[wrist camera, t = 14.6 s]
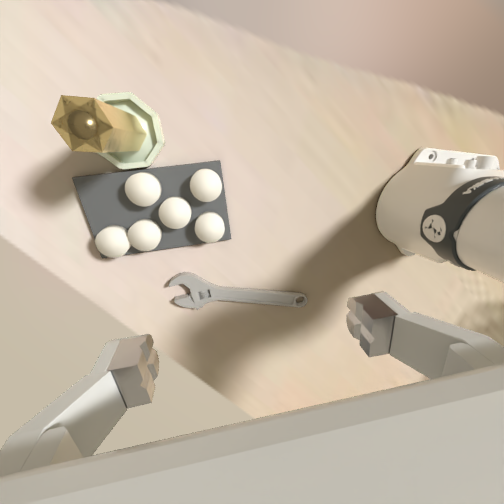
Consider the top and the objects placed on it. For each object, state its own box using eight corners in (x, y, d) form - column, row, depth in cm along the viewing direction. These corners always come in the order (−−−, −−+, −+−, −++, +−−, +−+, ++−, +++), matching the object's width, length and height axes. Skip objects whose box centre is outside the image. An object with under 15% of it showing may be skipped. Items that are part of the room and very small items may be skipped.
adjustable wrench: (306, 291, 49) (310, 296, 47) (295, 318, 51) (298, 324, 49) (173, 268, 42) (172, 273, 41) (167, 300, 45) (166, 306, 43)
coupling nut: (129, 106, 32) (82, 82, 20) (152, 143, 34) (122, 141, 22) (101, 122, 32) (38, 107, 20) (125, 158, 34) (81, 164, 22)
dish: (154, 92, 32) (151, 90, 31) (169, 163, 36) (167, 164, 35) (82, 98, 32) (77, 96, 30) (105, 170, 35) (101, 171, 34)
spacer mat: (219, 160, 37) (220, 161, 34) (230, 237, 42) (232, 243, 39) (75, 177, 35) (64, 179, 32) (103, 256, 39) (96, 263, 37)
